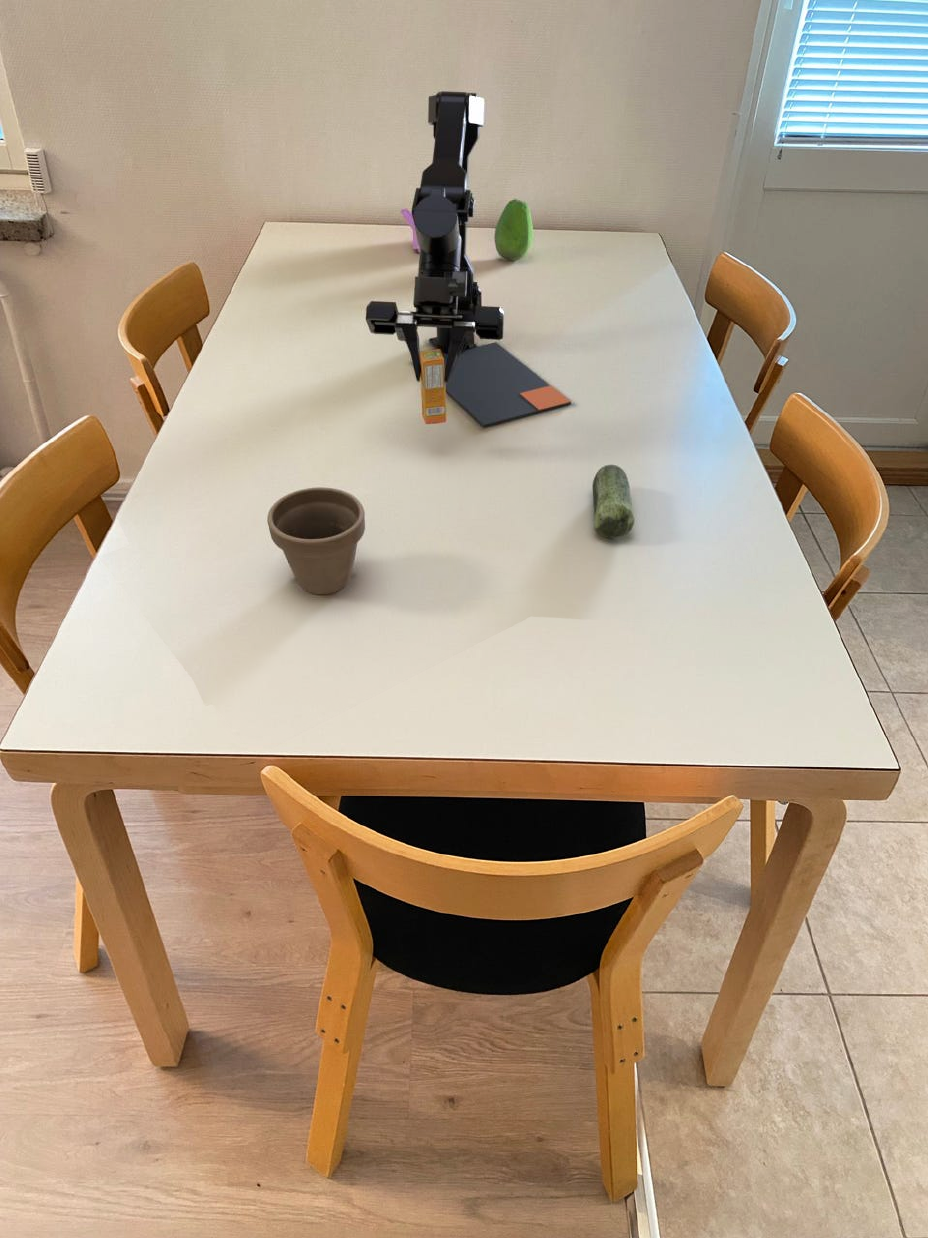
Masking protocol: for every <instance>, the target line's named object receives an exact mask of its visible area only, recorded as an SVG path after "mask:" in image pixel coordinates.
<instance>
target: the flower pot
mask: <svg viewBox="0 0 928 1238" xmlns="http://www.w3.org/2000/svg"><path fill="white" fill-rule="evenodd" d="M365 514H366V512H365V509H364V506H363V504H362V503H361V501H360V500H359V499H358V498H357V497H356V496H355V495H353V494H351V493H350V492H348V491H345V490H342V489H338V488H334V487H323V486H321V487H307V488H303V489H299V490H296V491H293V492H290V493H287V494H286V495H284V496H283V497H281V498H279V499H278V500H277V501H276V502H274V503H273V505H272V506H271V507H270V509H268V512H267V519H266V520H267V521H266V522H267V525H268V531H269V534H270V538H271V540H272V542H273V543H274V545H276V546H277V547H278V548H279V549H280V550H282V552H283V554H284V557H285V559H286V561H287V563H288V565H289V568H290V570H291V572H292V575H293V576H294V578H295V580H296V582H297V584H298V586H299V587H300V588H301V589H303V590H304V591H306V592H308V593H310V594H315V595H328V594H333V593H337V592H338V591H340V590H342V589H344V587H346V586H347V585H348V583H349V582H350V580H351V576H352V572H353V568H354V564H355V559H356V553H357V549H358V543H359V541H361V539H362V538H363V536H364V534H365V531H366V519H365V517H366V515H365Z"/></svg>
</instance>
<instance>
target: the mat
mask: <svg viewBox="0 0 928 1238" xmlns="http://www.w3.org/2000/svg"><path fill="white" fill-rule="evenodd" d="M442 356H443V358H444V367H445V368H446V362H447V357H448V354H442ZM445 389H446V395H448V397H450V398H452V400H453V401H454V402H455V403H457V405H459V406H460V407H461V408H462V409H463V411H465V412H466V413H468V415H469V416H470V417H471V418H473V419H474V420H475V421H476V422H477V423H478V424H479V425H480V426H481V427H482V428H487V427H492V426H495V425H499V424H504V423H507V422H511V421H515V420H519V419H522V418H526V417H529V416H533V415H536V414H537V415H538V414H540V413H544V412H548V411H552V410H556V409H559V408H564V407H567V406H570V405H571V404H572V400H570V399H569V398H567V396H565V395H564V394H563V393H561V392H560V391H559V390H558V389H557V388H555V387H554V386H552V385H551V384H549V383H548V382H546V381H545V380H544V379H543V378H541V376H539V375H538V374H537V373H535V372H534V371H533V370H531V369H530V367H528V366H526V365H525V364H524V363H523V362H522V361H520V360H519V359H518V358H516V357H515V356H514V355H513V354H512V353H510V352H509V351H508V350H506V349H505V348H504V347H503V346H501V345H500V344H499V343H497V342H496V341H495V342H491V343H487V344H483V345H477V347H476V348H471V349H468V350H464V351H463V352H462V354H461V356H460V357H459V359H458V361H457V363H456V365H455V368H454V370H453V372H452V375H451V377H450V379H449V381H448V383H445Z"/></svg>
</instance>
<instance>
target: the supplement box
mask: <svg viewBox="0 0 928 1238" xmlns="http://www.w3.org/2000/svg"><path fill="white" fill-rule="evenodd" d="M419 354H420V369H421V376H420V393H421V396H420V397H421V415H422V419H423V422H424V424H425V425H436V424H443V423H447V417H448V416H447V393H446V389H445V367H444V358H443V356H442V353H441V349H436V348H435V349H428V350H427V349H425V350H420V352H419Z"/></svg>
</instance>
